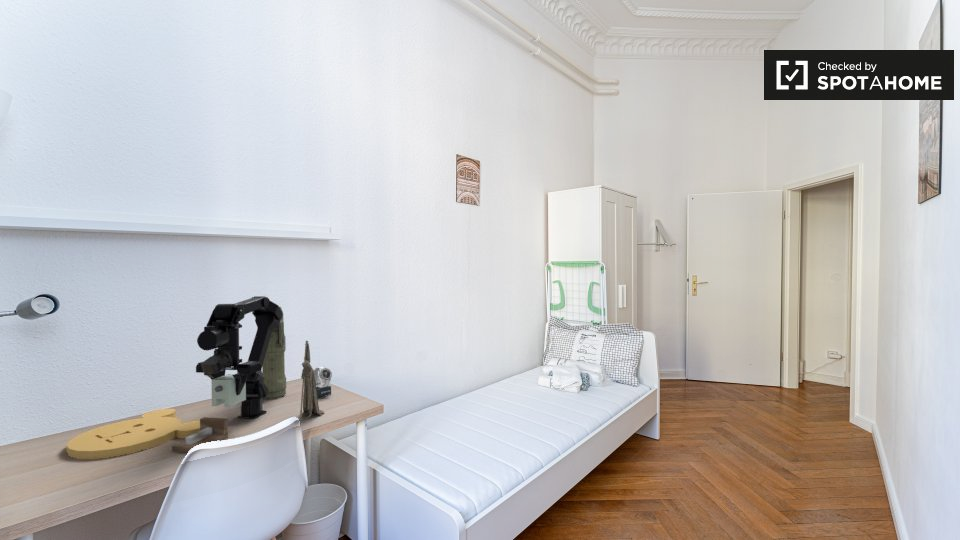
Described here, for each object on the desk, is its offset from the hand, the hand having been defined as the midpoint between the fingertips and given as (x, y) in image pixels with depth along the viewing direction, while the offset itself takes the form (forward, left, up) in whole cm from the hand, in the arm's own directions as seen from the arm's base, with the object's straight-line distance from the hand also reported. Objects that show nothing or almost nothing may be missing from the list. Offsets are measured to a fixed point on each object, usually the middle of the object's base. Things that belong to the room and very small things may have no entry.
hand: (229, 394), depth 132 cm
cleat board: (+11, 0, -11) cm, 15 cm away
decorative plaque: (+9, -24, -12) cm, 28 cm away
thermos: (-34, -9, -11) cm, 36 cm away
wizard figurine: (-17, +17, -11) cm, 26 cm away
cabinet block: (0, 0, -3) cm, 2 cm away
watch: (-37, +9, -11) cm, 40 cm away
